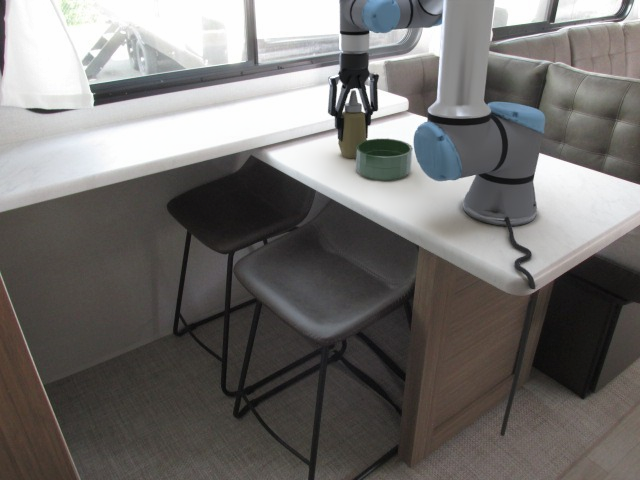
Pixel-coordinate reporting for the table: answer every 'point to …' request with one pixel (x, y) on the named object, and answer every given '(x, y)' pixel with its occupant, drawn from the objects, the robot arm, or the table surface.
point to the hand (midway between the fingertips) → (352, 138)
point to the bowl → (383, 159)
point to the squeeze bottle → (352, 127)
